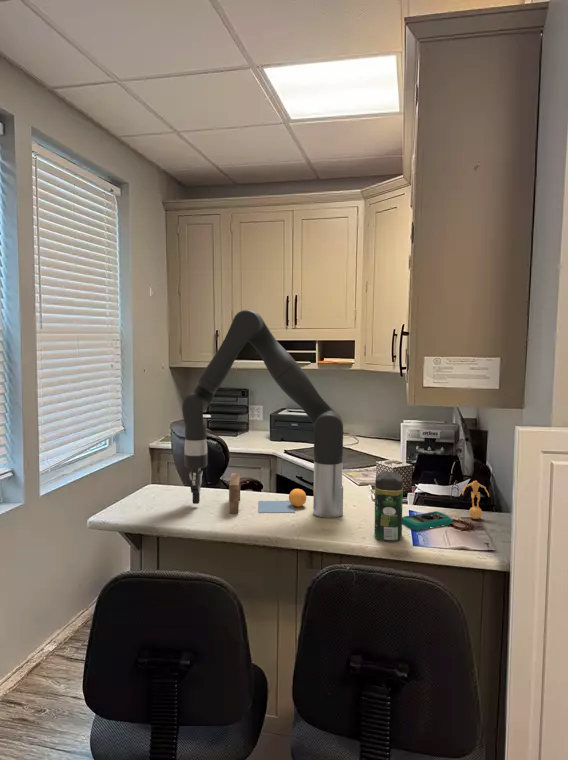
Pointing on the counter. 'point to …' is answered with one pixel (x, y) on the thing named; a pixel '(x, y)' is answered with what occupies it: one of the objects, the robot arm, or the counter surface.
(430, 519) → the digital multimeter
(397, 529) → the coffee jar
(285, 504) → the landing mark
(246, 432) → the counter surface
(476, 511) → the figurine
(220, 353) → the robot arm
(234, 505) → the bridge
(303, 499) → the ball
